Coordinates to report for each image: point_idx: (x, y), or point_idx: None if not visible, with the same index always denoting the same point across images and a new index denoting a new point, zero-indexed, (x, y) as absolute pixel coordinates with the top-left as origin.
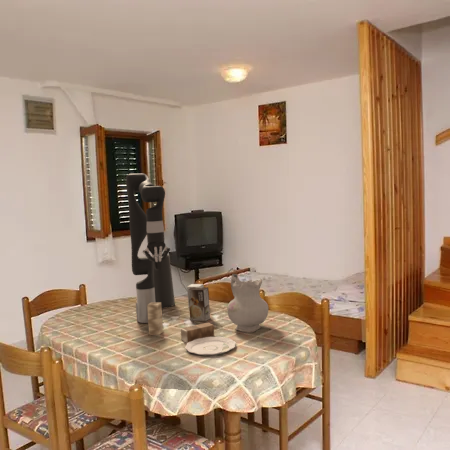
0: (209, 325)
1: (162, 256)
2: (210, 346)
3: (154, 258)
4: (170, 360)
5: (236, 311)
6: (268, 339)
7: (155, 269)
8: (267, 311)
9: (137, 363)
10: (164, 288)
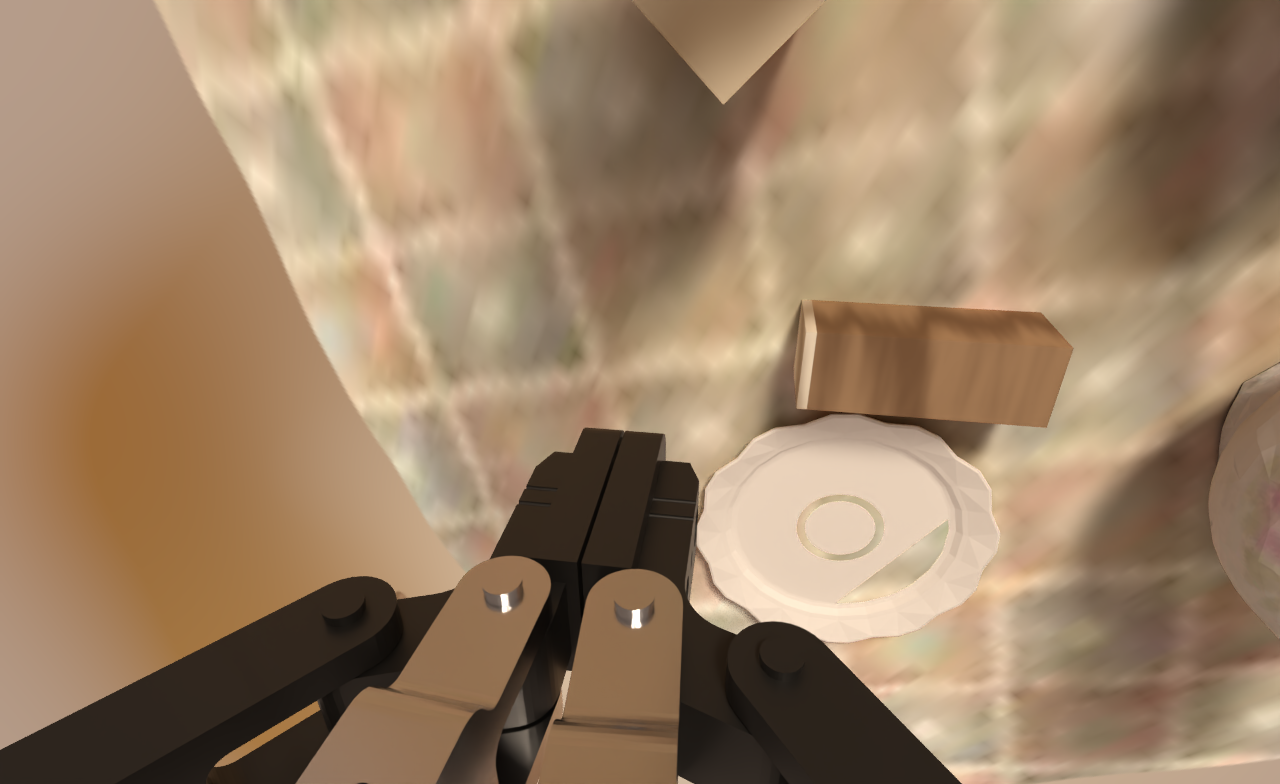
0: (1013, 417)
1: (815, 742)
2: (854, 511)
3: (480, 661)
4: None
5: (1248, 577)
6: (1167, 636)
7: (586, 435)
8: None
9: (440, 453)
10: None
